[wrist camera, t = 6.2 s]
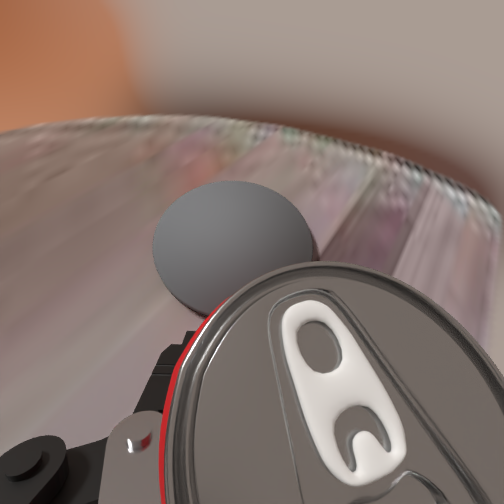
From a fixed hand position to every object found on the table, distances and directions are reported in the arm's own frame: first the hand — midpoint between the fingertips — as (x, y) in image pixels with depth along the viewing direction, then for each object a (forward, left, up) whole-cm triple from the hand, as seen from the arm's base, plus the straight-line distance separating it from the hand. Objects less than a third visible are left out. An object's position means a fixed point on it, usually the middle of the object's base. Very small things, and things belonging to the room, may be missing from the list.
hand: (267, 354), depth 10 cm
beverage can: (+2, -1, -5) cm, 6 cm away
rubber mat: (-7, +4, -5) cm, 10 cm away
